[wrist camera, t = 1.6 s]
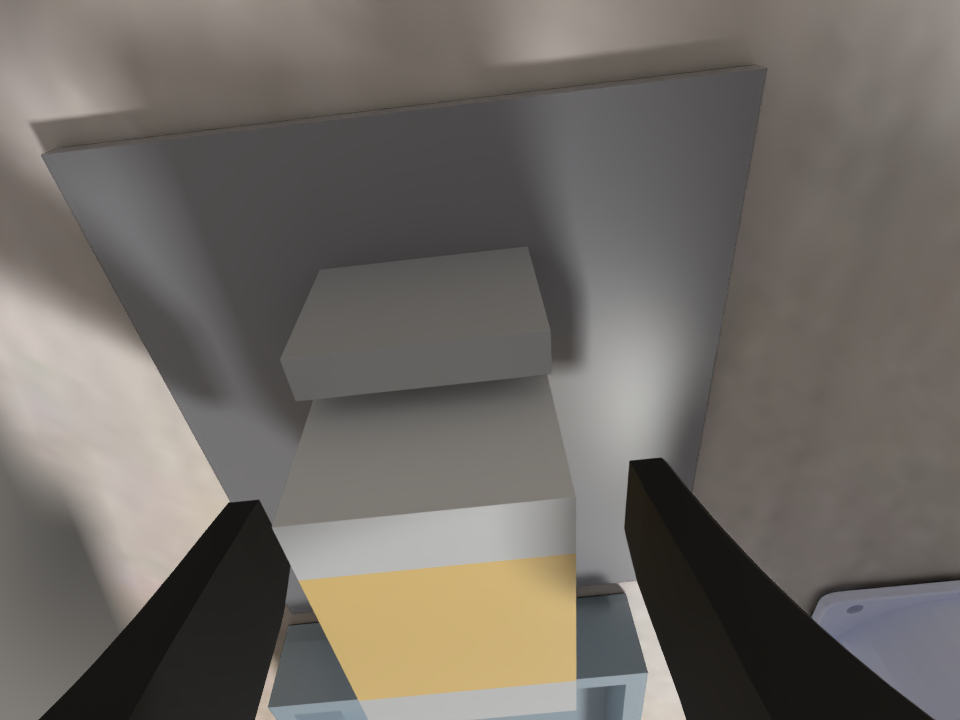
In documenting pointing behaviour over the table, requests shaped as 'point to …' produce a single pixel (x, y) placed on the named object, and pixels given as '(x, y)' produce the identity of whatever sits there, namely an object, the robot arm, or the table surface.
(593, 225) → the fuse block
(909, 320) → the table surface
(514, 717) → the parts tray
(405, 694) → the block
